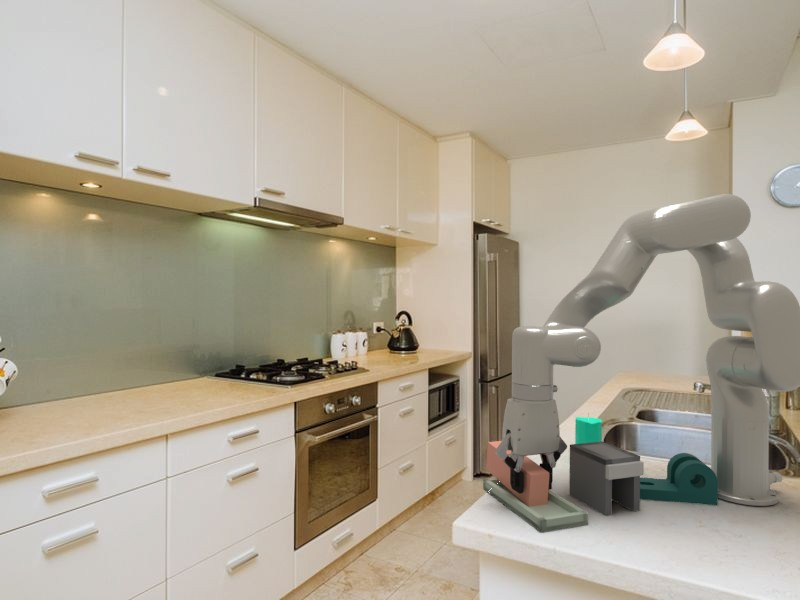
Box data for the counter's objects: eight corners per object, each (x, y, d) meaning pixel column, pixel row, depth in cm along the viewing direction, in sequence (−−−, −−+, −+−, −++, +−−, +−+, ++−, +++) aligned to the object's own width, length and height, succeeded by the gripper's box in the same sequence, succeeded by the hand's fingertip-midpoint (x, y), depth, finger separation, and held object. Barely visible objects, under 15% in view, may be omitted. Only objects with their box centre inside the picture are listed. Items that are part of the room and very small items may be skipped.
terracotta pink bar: (502, 467, 108) (504, 440, 107) (547, 504, 92) (549, 472, 92) (486, 469, 106) (487, 441, 106) (528, 506, 91) (530, 475, 91)
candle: (571, 464, 118) (572, 413, 118) (578, 457, 123) (579, 409, 123) (598, 469, 114) (598, 417, 114) (604, 462, 119) (604, 412, 119)
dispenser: (643, 512, 91) (643, 457, 91) (608, 517, 89) (609, 461, 89) (601, 490, 101) (601, 441, 101) (569, 495, 99) (569, 444, 99)
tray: (523, 484, 105) (523, 474, 105) (588, 524, 86) (588, 513, 86) (483, 489, 102) (483, 479, 102) (541, 532, 83) (541, 520, 83)
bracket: (703, 493, 101) (703, 454, 101) (717, 506, 95) (717, 464, 95) (608, 486, 105) (609, 448, 105) (616, 498, 98) (616, 458, 98)
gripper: (558, 387, 100) (557, 477, 100) (481, 391, 95) (481, 487, 94) (583, 393, 93) (582, 491, 93) (502, 398, 87) (501, 502, 87)
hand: (531, 488), depth 94 cm, fingers open, 5 cm apart
